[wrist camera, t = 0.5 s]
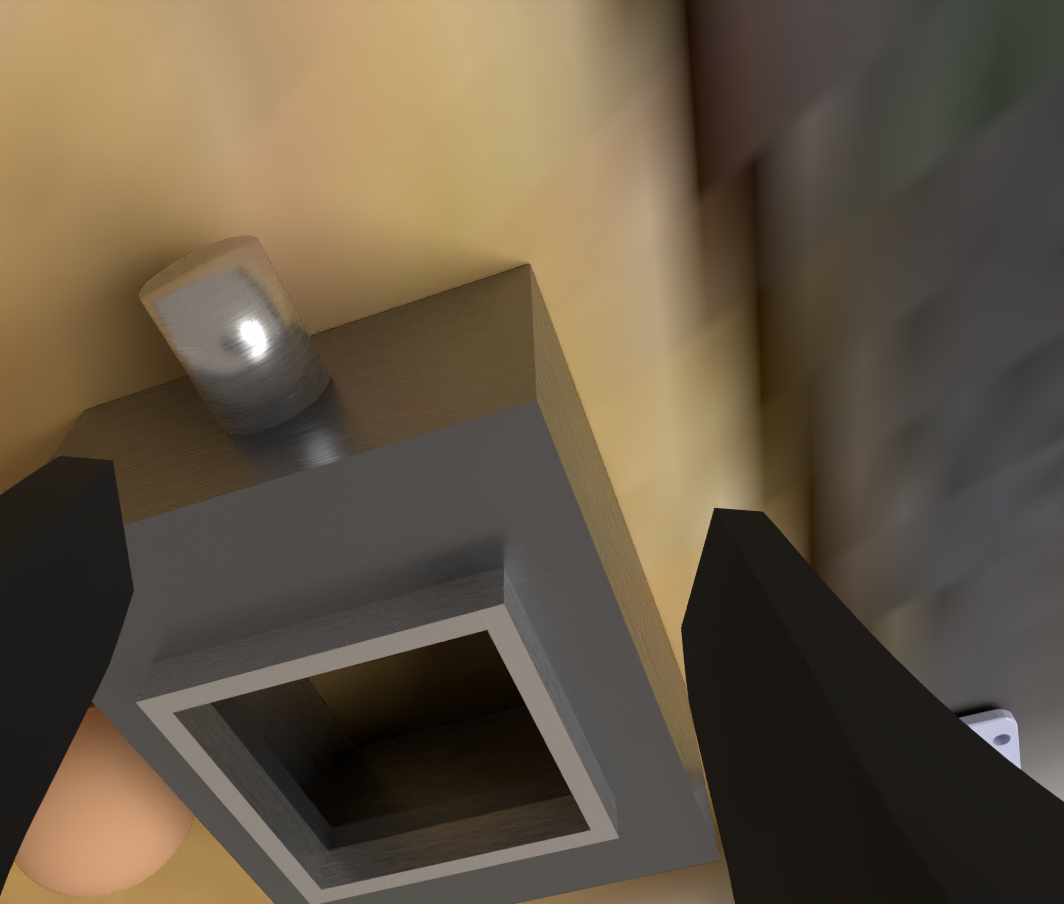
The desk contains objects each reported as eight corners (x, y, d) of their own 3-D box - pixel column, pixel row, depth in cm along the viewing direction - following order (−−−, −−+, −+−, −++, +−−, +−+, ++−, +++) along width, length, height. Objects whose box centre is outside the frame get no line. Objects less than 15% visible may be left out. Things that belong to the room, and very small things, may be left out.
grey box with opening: (685, 684, 28) (727, 899, 23) (343, 768, 30) (306, 984, 24) (480, 129, 19) (469, 264, 13) (4, 299, 21) (-177, 479, 15)
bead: (248, 757, 29) (206, 913, 25) (107, 792, 30) (44, 949, 26) (161, 649, 27) (98, 804, 23) (9, 691, 28) (-78, 848, 23)
